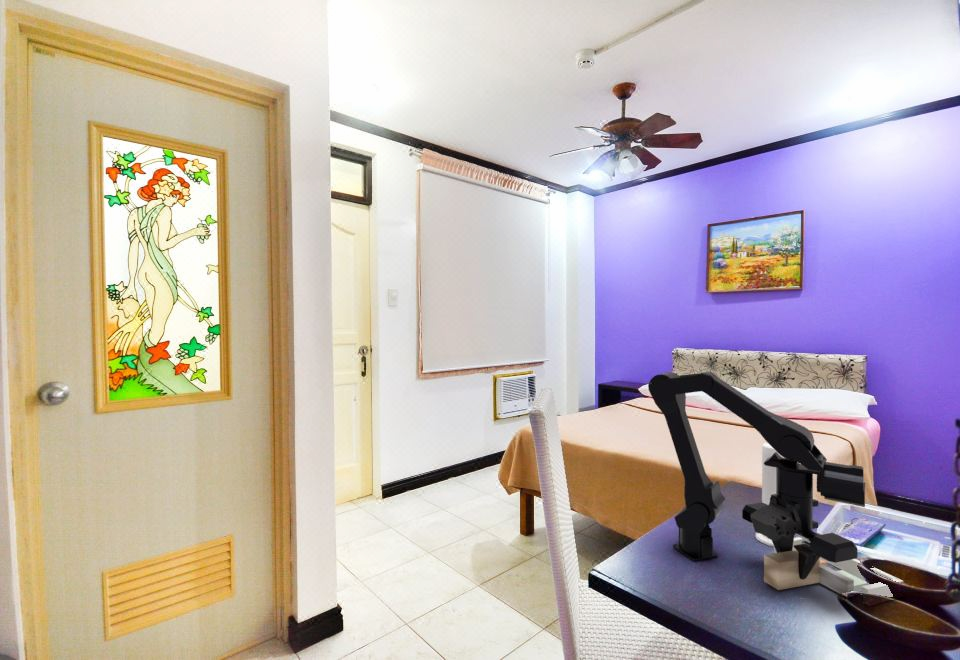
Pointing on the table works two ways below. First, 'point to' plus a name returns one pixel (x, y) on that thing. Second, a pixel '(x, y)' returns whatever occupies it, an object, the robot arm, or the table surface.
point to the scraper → (785, 573)
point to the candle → (767, 484)
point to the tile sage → (855, 581)
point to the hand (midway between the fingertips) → (794, 574)
